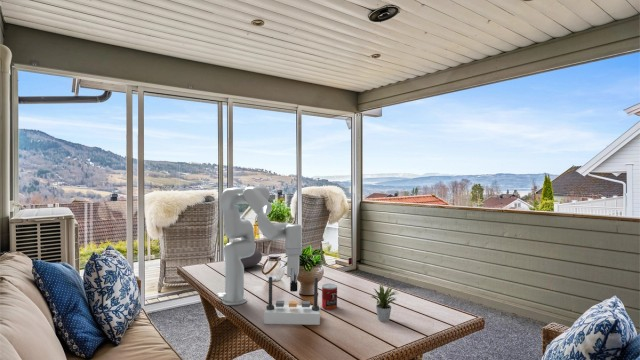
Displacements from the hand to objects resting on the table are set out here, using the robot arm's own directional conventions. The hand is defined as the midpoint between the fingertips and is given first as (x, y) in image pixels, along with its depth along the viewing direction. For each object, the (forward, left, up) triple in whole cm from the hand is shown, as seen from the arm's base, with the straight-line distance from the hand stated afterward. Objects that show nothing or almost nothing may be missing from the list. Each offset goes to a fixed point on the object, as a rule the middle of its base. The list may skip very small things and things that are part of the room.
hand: (293, 290), depth 169 cm
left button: (-6, 0, -7) cm, 9 cm away
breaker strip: (0, 0, -14) cm, 14 cm away
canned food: (+17, +17, -14) cm, 28 cm away
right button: (+6, 0, -7) cm, 9 cm away
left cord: (-11, 0, -9) cm, 14 cm away
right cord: (+10, 0, -9) cm, 13 cm away
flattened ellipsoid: (-44, +95, -14) cm, 106 cm away
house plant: (+42, +1, -14) cm, 44 cm away
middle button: (0, 0, -7) cm, 7 cm away
